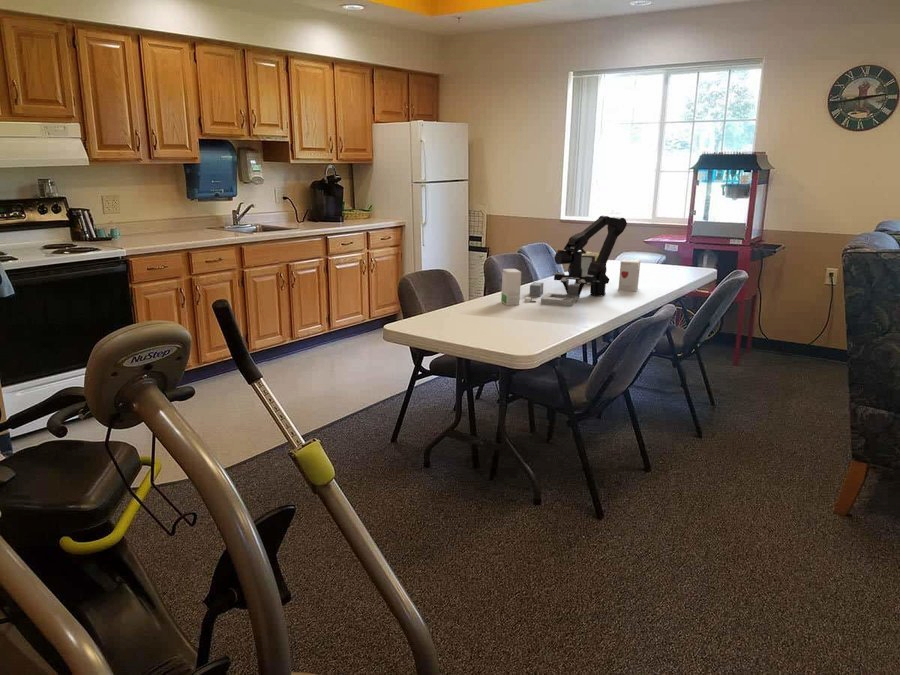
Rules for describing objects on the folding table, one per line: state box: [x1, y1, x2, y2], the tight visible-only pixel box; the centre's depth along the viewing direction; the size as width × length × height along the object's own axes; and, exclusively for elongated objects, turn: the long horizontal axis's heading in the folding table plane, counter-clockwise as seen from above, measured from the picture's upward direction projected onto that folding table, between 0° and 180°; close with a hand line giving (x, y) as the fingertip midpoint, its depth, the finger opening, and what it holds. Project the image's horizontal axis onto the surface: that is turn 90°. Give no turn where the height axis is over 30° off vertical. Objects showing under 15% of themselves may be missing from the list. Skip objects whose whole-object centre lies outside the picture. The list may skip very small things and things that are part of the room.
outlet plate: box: [540, 292, 578, 307], centre depth 301 cm, size 14×14×3 cm
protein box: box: [574, 251, 600, 286], centre depth 348 cm, size 10×15×16 cm
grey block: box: [566, 283, 581, 300], centre depth 311 cm, size 5×5×7 cm
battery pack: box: [529, 281, 544, 298], centre depth 316 cm, size 5×9×6 cm, turn 162°
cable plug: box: [524, 296, 537, 303], centre depth 302 cm, size 5×3×2 cm, turn 68°
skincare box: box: [500, 268, 522, 307], centre depth 296 cm, size 8×7×16 cm
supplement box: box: [618, 258, 641, 292], centre depth 329 cm, size 9×9×15 cm
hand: (573, 295), depth 311 cm, fingers closed on grey block, 5 cm apart
